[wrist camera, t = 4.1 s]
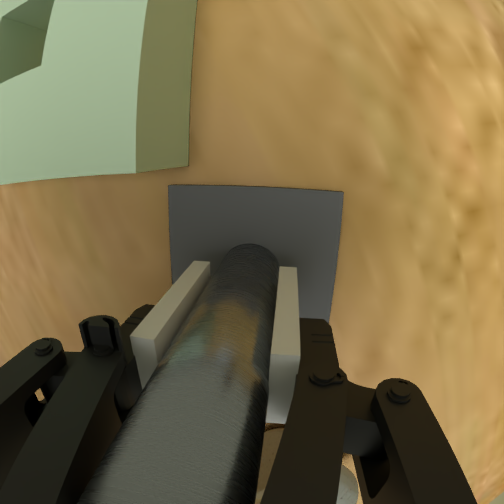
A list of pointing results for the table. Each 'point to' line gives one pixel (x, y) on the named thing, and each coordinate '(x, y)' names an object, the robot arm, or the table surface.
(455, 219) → the table surface
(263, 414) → the pin
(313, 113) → the table surface
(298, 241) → the mat
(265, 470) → the ceramic mug
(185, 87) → the socket block
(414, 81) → the table surface
